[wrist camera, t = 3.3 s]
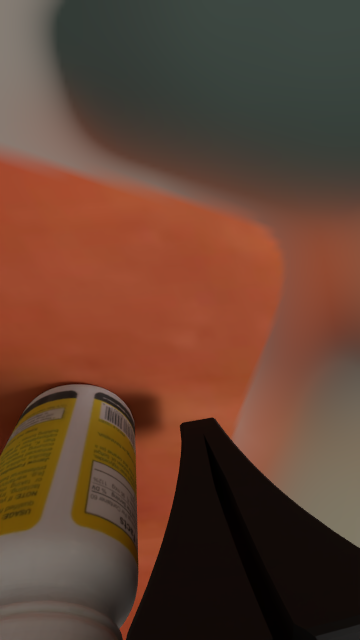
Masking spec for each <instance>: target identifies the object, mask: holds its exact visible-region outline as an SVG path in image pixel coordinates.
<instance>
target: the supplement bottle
mask: <svg viewBox="0 0 360 640" xmlns="http://www.w3.org/2000/svg"><path fill="white" fill-rule="evenodd" d="M137 586H138V539H137V495H136V451H135V425H134V420H133V416H132V414H131V411H130V410H129V408H128V407H127V405H126V404H125V403H124V402H123V401H122V399H120V398H119V397H118V396H117V395H115V394H114V393H112V392H110V391H108V390H106V389H104V388H101V387H97V386H93V385H84V384H72V385H64V386H59V387H55V388H52V389H50V390H48V391H46V392H44V393H42V394H41V395H39V396H38V397H36V398H35V399H34V400H33V401H32V402H31V403H30V404H29V405H28V406H27V408H26V409H25V410H24V412H23V414H22V415H21V417H20V419H19V421H18V423H17V425H16V427H15V428H14V430H13V432H12V434H11V436H10V438H9V440H8V442H7V444H6V446H5V448H4V450H3V452H2V454H1V456H0V640H123V639H122V634H121V632H120V629H119V628H120V627H121V626H122V625H123V623H124V622H125V620H126V619H127V617H128V615H129V613H130V611H131V609H132V606H133V604H134V600H135V597H136V592H137Z"/></svg>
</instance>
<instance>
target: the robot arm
mask: <svg viewBox="0 0 360 640" xmlns="http://www.w3.org/2000/svg"><path fill="white" fill-rule="evenodd" d="M180 431H181V441H182V444H181V458H180V467H179V474H178V480H177V485H176V491H175V496H174V500H173V505H172V509H171V513H170V517H169V521H168V524H167V528H166V531H165V535H164V538H163V541H162V545H161V548H160V551H159V554H158V557H157V560H156V562H155V565H154V568H153V571H152V573H151V576H150V579H149V582H148V585H147V587H146V590H145V592H144V595H143V597H142V600H141V602H140V605H139V607H138V609H137V612H136V614H135V617H134V619H133V621H132V624H131V626H130V629H129V631H128V634H127V638H126V640H360V548H359V547H357V546H355V545H353V544H352V543H351V542H349V541H348V540H346V539H345V538H343V537H341V536H340V535H339V534H337V533H336V532H334V531H333V530H331V529H330V528H328V527H327V526H326V525H324V524H323V523H322V522H320V521H319V520H318V519H316V518H315V517H313V516H312V515H311V514H309V513H308V512H307V511H305V510H304V509H303V508H301V507H300V506H299V505H298V504H296V503H295V502H294V501H293V500H291V499H290V498H289V497H288V496H287V495H285V494H284V493H283V492H282V491H281V490H279V488H277V487H276V486H275V485H274V484H273V483H272V482H271V481H270V480H269V479H268V478H266V477H265V476H264V475H263V474H262V473H261V472H260V471H259V470H258V469H257V468H256V467H255V466H254V465H253V464H252V463H251V462H250V461H249V460H248V458H247V457H246V456H245V455H244V454H243V453H242V452H241V451H240V450H239V449H238V447H237V446H236V445H235V444H234V443H233V441H232V440H231V439H230V438H229V437H228V435H227V434H226V433H225V432H224V430H223V429H222V428H221V426H220V425H219V424H218V422H217V421H216V419H214V418H207V419H202V420H196V421H190V422H184V423H182V424H181V425H180Z"/></svg>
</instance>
